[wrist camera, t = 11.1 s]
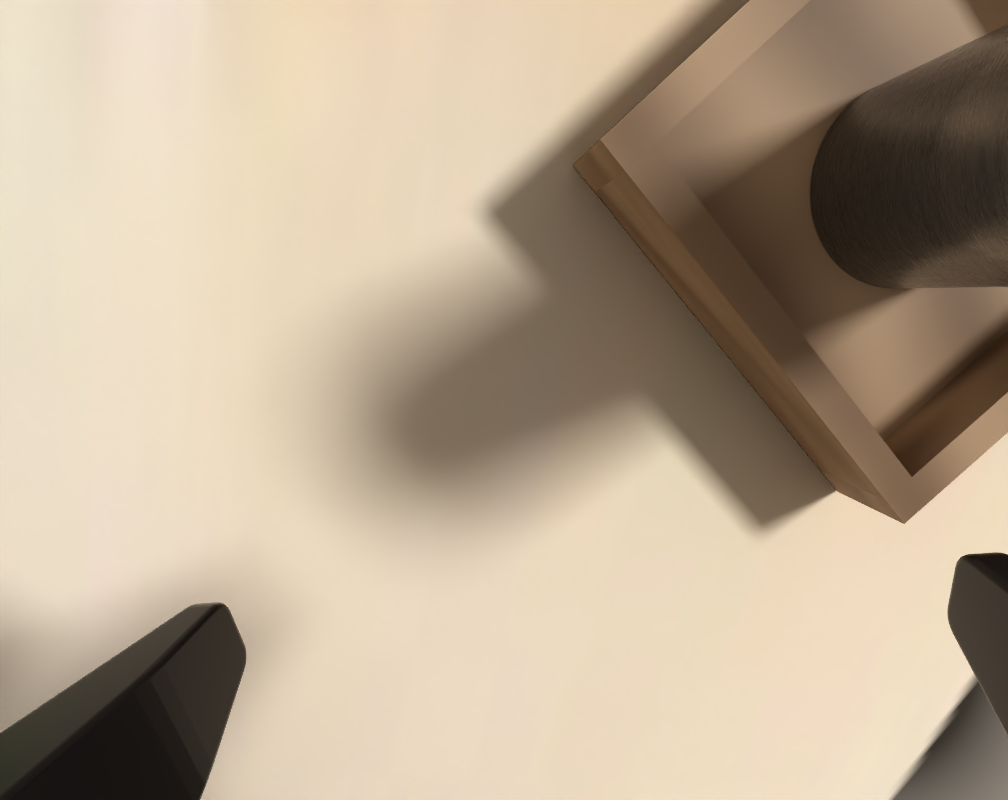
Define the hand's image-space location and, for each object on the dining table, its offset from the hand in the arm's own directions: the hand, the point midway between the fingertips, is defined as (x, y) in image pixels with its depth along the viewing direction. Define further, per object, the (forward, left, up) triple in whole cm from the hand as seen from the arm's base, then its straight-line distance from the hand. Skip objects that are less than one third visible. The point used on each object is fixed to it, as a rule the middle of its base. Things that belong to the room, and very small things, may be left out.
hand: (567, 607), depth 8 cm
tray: (+14, -3, -11) cm, 18 cm away
